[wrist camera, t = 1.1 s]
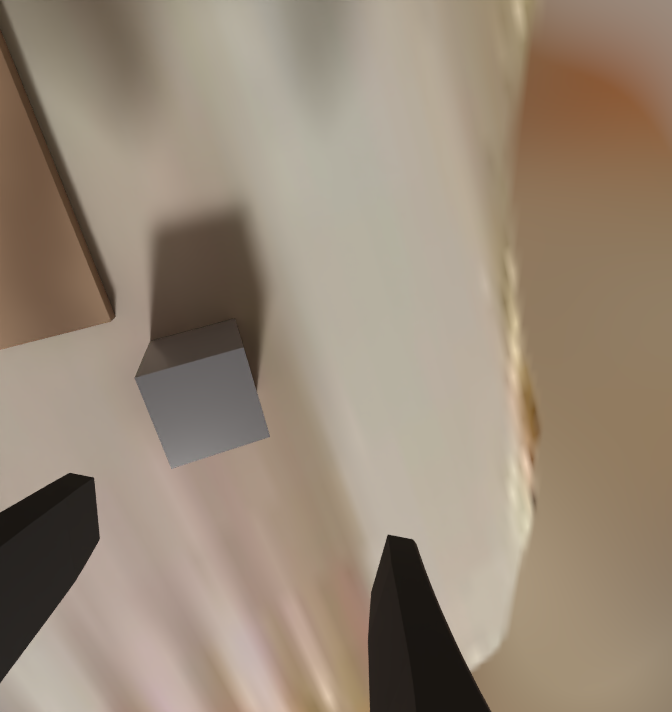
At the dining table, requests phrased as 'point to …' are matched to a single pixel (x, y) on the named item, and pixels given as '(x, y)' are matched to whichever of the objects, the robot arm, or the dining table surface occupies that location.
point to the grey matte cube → (201, 393)
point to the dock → (38, 232)
